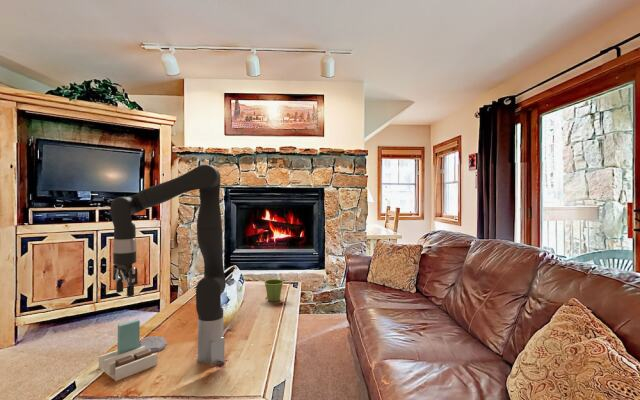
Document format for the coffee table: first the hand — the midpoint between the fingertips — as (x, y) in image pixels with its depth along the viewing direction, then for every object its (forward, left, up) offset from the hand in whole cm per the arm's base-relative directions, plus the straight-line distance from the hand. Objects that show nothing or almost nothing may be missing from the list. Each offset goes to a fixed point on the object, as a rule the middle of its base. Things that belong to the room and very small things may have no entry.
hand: (124, 294), depth 127 cm
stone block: (+4, -13, -27) cm, 30 cm away
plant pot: (+12, -91, -27) cm, 96 cm away
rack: (-5, +1, -27) cm, 27 cm away
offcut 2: (-9, -2, -25) cm, 27 cm away
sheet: (0, -1, -25) cm, 25 cm away
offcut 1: (-9, +4, -25) cm, 27 cm away
